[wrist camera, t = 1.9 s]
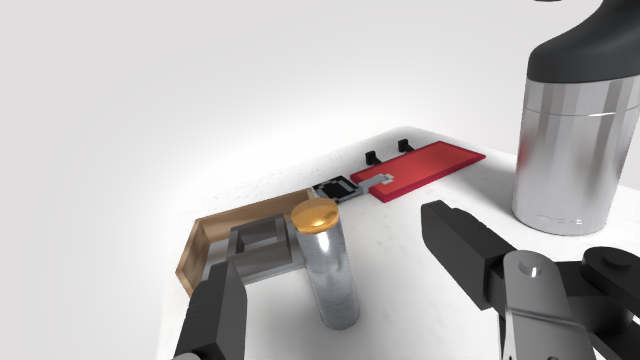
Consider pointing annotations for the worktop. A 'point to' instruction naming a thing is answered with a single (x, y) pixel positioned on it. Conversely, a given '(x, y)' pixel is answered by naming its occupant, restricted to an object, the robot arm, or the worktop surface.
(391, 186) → the red board with handle
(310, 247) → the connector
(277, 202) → the socket box
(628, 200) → the worktop surface
